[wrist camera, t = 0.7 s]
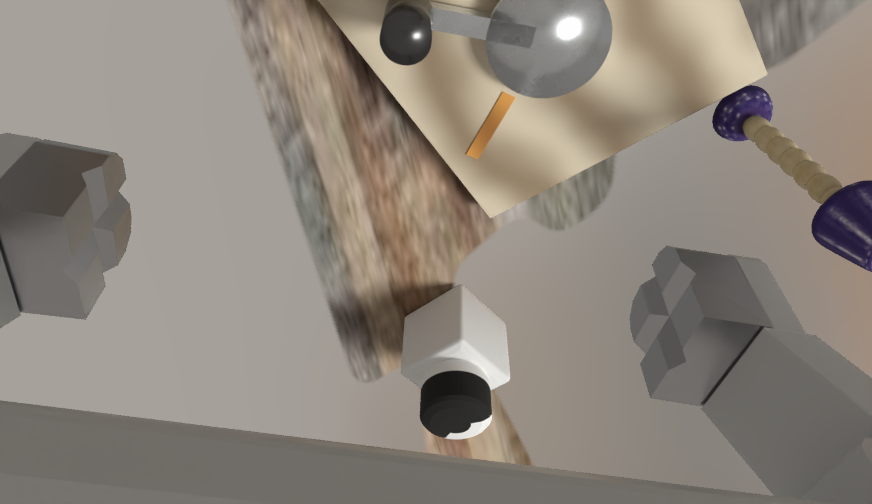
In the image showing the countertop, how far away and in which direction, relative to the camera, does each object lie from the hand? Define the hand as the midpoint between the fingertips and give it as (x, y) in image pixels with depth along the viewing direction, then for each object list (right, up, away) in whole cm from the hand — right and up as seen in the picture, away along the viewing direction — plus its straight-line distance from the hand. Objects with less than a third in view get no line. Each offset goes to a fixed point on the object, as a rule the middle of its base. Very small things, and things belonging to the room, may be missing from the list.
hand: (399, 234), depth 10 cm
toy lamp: (+23, +10, +38) cm, 46 cm away
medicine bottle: (+2, -7, +53) cm, 54 cm away
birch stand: (+8, +15, +34) cm, 38 cm away
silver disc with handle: (+5, +14, +32) cm, 35 cm away
